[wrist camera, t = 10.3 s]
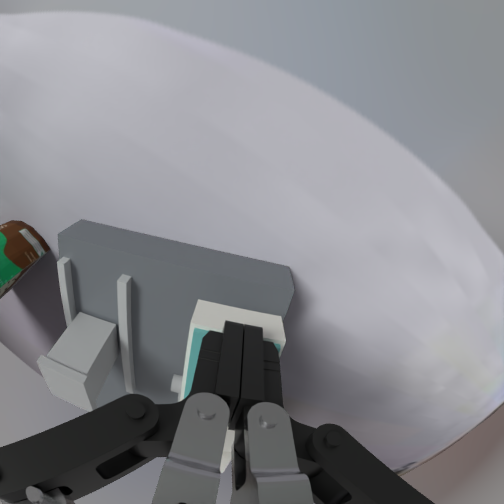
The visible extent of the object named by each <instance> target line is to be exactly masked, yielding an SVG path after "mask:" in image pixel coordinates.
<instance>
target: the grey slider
mask: <svg viewBox="0 0 504 504" xmlns="http://www.w3.org/2000/svg"><path fill="white" fill-rule="evenodd" d="M118 355H119V351H118V341H117V330H116V324H114V323H111V322H107V321H104V320H101V319H99V318H96V317H93V316H90V315H87V314H84V313H82V312H79V314H78V315H77V316H76V317H75V319H74V320H73V321H72V322H71V324H70V325H69V326H68V328H67V329H66V330H65V331H64V333H63V334H62V335H61V337H60V338H59V339H58V341H57V342H56V343H55V345H54V346H53V347H52V349H51V350H50V352H49V353H48V354H47V356H46V357H45V356H43V355H41V356H40V357H39V359H38V360H37V363H38V366H39V368H40V370H41V373H42V375H43V377H44V380H45V382H46V384H47V386H48V388H49V390H50V392H51V394H52V395H54V396H56V397H58V398H60V399H62V400H64V401H66V402H68V403H70V404H72V405H74V406H77V407H79V408H81V409H84V410H86V411H88V412H90V411H93V410H95V409H97V405H96V402H95V401H96V399H97V397H98V395H99V393H100V391H101V389H102V387H103V385H104V383H105V380H106V378H107V376H108V374H109V372H110V370H111V368H112V366H113V364H114V362H115V360H116V358H117V357H118Z"/></svg>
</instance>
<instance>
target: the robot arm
mask: <svg viewBox="0 0 504 504" xmlns="http://www.w3.org/2000/svg"><path fill="white" fill-rule="evenodd" d="M279 363H280V361H279V352H278V350H277V348H276V346H275V345H274V343H273V342H270V341H264V340H263V328H262V327H258V326H252V325H247V324H244V325H243V324H242V323H237V322H232V321H227V320H225V323H224V328H223V332H222V333H221V332H217V331H212V330H209V332H208V333H207V334H206V335H205V336H204V337H203V338H202V342H201V347H200V351H199V356H198V360H197V364H196V369H195V373H194V378H193V383H192V387H191V391H190V393H189V394H188V396H187V397H186V398H185V399H183V400H182V401H179V402H177V403H172V404H155V403H154V402H153V401H152V400H151V399H149V398H148V397H146V396H143V395H140V394H127V395H124V396H122V397H120V398H118V399H116V400H114V401H112V402H110V403H107V404H105V405H103V406H101V407H99V408H97V409H95V410H93V411H90V412H88V413H86V414H84V415H82V416H79V417H77V418H75V419H73V420H70V421H68V422H66V423H63V424H61V425H59V426H56V427H54V428H51V429H49V430H46V431H44V432H41V433H39V434H36V435H34V436H31V437H28V438H26V439H23V440H20V441H18V442H15V443H12V444H9V445H6V446H3V447H0V500H1V502H2V504H75V503H74V500H76V499H79V498H81V497H83V496H85V495H88V494H89V493H92V492H94V491H96V490H98V489H100V488H102V487H104V486H106V485H108V484H110V483H112V482H114V481H116V480H118V479H120V478H121V477H123V476H125V475H127V474H129V473H130V472H132V471H134V470H136V469H137V468H139V467H141V466H143V465H144V464H146V463H148V462H149V461H151V460H153V459H154V458H156V457H167V458H166V460H165V463H164V465H163V468H162V471H161V475H160V478H159V481H158V484H157V488H156V491H155V494H154V497H153V501H152V504H216V498H217V493H218V487H219V482H220V465H221V459H222V454H223V448H224V443H225V437H226V432H227V427H228V430H234V431H235V437H234V442H233V444H232V447H231V457H232V496H231V502H230V504H314V503H315V504H434V503H433V502H432V501H431V500H429V499H428V498H426V497H425V496H424V495H422V494H421V493H420V492H418V491H417V490H416V489H414V488H413V487H412V486H411V485H409V484H408V483H407V482H406V481H404V480H403V479H402V478H400V477H399V476H398V475H397V474H395V473H394V472H393V471H392V470H391V469H389V468H388V467H387V466H386V465H385V464H383V463H382V462H381V461H380V460H379V459H377V458H376V457H375V456H374V455H373V454H372V453H370V452H369V451H368V450H367V449H366V448H365V447H363V446H362V445H361V444H360V443H359V442H358V441H357V440H356V439H354V438H353V437H352V436H351V435H350V434H349V433H348V432H347V431H346V430H344V429H343V428H342V427H340V426H338V425H335V424H324V425H321V426H319V427H318V428H317V429H316V428H313V427H310V426H307V425H304V424H301V423H299V422H296V421H295V420H293V419H292V418H291V417H290V416H289V415H288V413H287V412H286V411H285V409H284V407H283V400H282V387H281V374H280V364H279Z"/></svg>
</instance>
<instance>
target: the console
mask: <svg viewBox="0 0 504 504" xmlns="http://www.w3.org/2000/svg"><path fill="white" fill-rule="evenodd" d="M58 246H59V259H60V260H59V261H57V268H58V276H59V284H60V291H61V298H62V304H63V309H64V315H65V320H66V325H67V328H68V326H69V325H70V324H71V322H72V321H73V320H74V319H75V317H76V316H77V315H78V314H79V312H82V313H84V314H87V315H90V316H93V317H96V318H99V319H101V320H104V321H107V322H111V323H114V324H116V330H117V341H118V351H119V355H118V357H117V358H116V360H115V362H114V364H113V366H112V368H111V370H110V372H109V374H108V376H107V378H106V380H105V383H104V385H103V387H102V389H101V391H100V393H99V395H98V397H97V399H96V401H95V402H96V405H97V408H99V407H101V406H103V405H105V404H107V403H110V402H112V401H114V400H116V399H118V398H120V397H122V396H124V395H127V394H140V395H143V396H146V397H148V398H149V399H151V400H152V401H153V402H154V403H155V404H172V403H177V402H179V401H180V396H181V393H177V392H173V391H171V384H172V379H173V376H174V374H176V375H180V376H183V371H184V364H185V357H186V349H187V342H188V336H189V329H190V323H191V319H192V316H193V313H194V310H195V307H196V304H197V301H198V299H200V300H204V301H208V302H213V303H217V304H222V305H227V306H231V307H236V308H241V309H246V310H251V311H256V312H261V313H266V314H271V315H277V316H281V318H282V323H283V321H284V318H285V315H286V313H287V310H288V308H289V305H290V302H291V300H292V297H293V294H294V292H295V289H294V285H293V281H292V277H291V273H290V269H289V267H288V266H283V265H279V264H274V263H270V262H265V261H261V260H256V259H252V258H248V257H243V256H239V255H234V254H230V253H225V252H221V251H216V250H212V249H208V248H203V247H199V246H194V245H190V244H186V243H181V242H177V241H172V240H168V239H164V238H159V237H155V236H151V235H146V234H142V233H138V232H133V231H129V230H125V229H120V228H116V227H112V226H108V225H103V224H99V223H95V222H91V221H86V220H82V219H81V220H80V221H78V222H76V223H75V224H73V225H71V226H70V227H68V228H67V229H65V230H63V231H62V232H60V233H59V234H58Z"/></svg>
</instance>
